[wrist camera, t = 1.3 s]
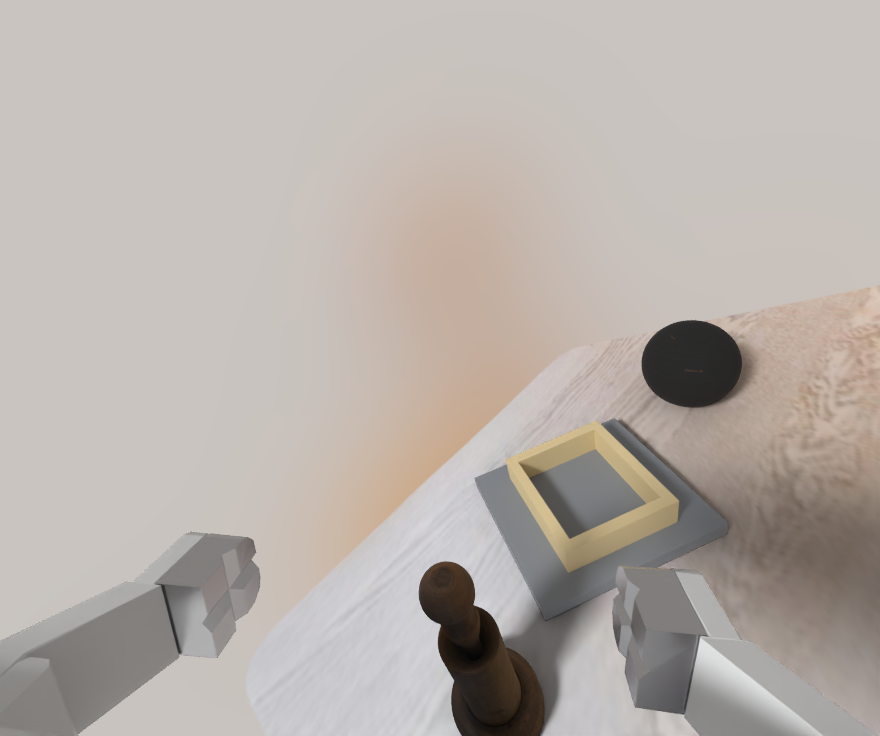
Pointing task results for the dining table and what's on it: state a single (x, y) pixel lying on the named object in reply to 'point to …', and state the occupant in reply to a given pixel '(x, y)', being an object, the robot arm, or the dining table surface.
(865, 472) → the dining table surface
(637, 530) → the holder
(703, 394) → the speaker
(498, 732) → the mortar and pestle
